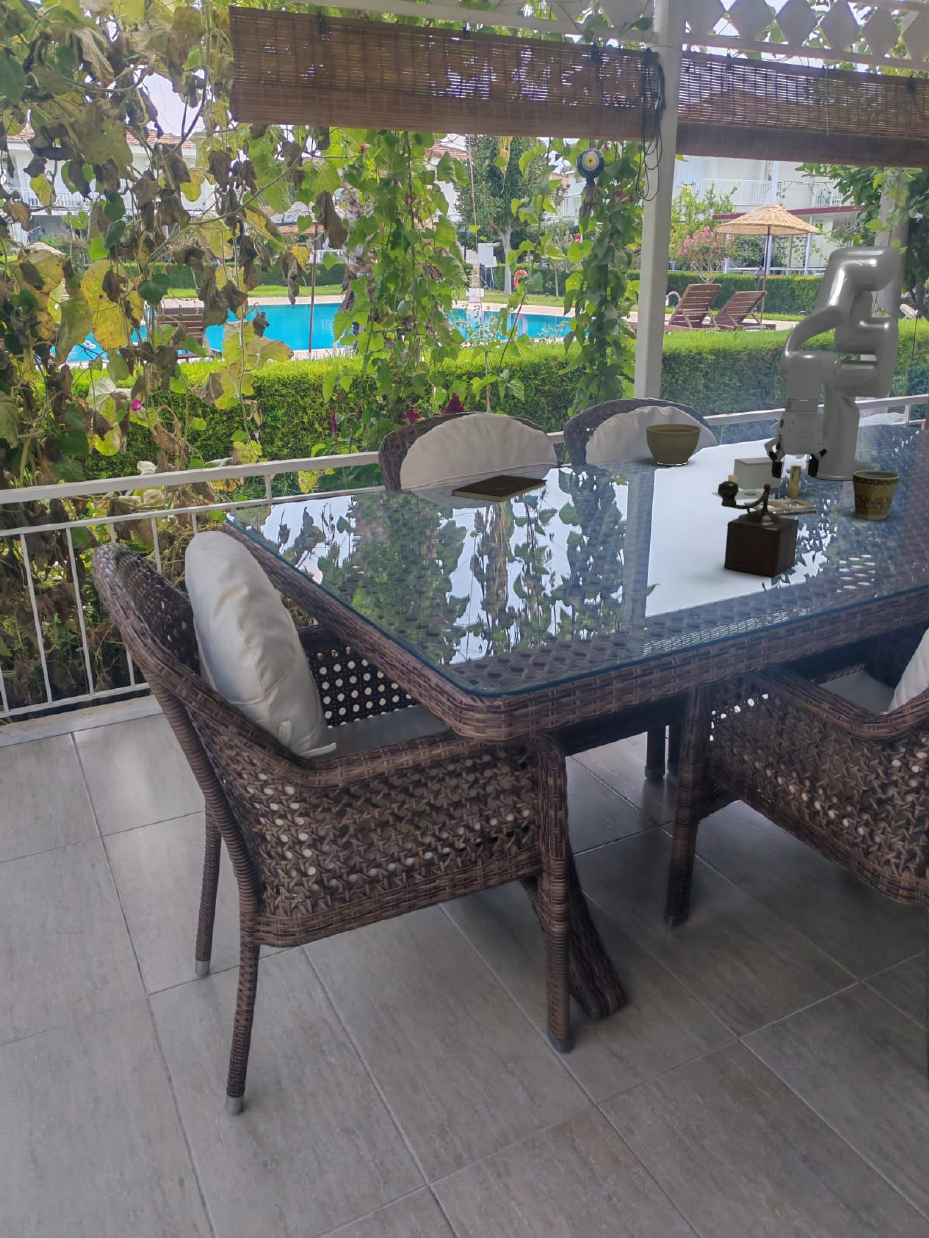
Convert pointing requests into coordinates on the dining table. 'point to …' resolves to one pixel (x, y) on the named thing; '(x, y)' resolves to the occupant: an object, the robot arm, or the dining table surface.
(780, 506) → the board
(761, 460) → the block
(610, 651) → the dining table surface
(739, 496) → the pad
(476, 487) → the hardcover book
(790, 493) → the brass pin
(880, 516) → the ceramic cup
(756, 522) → the manual coffee grinder
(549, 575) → the dining table surface
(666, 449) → the planter bowl
